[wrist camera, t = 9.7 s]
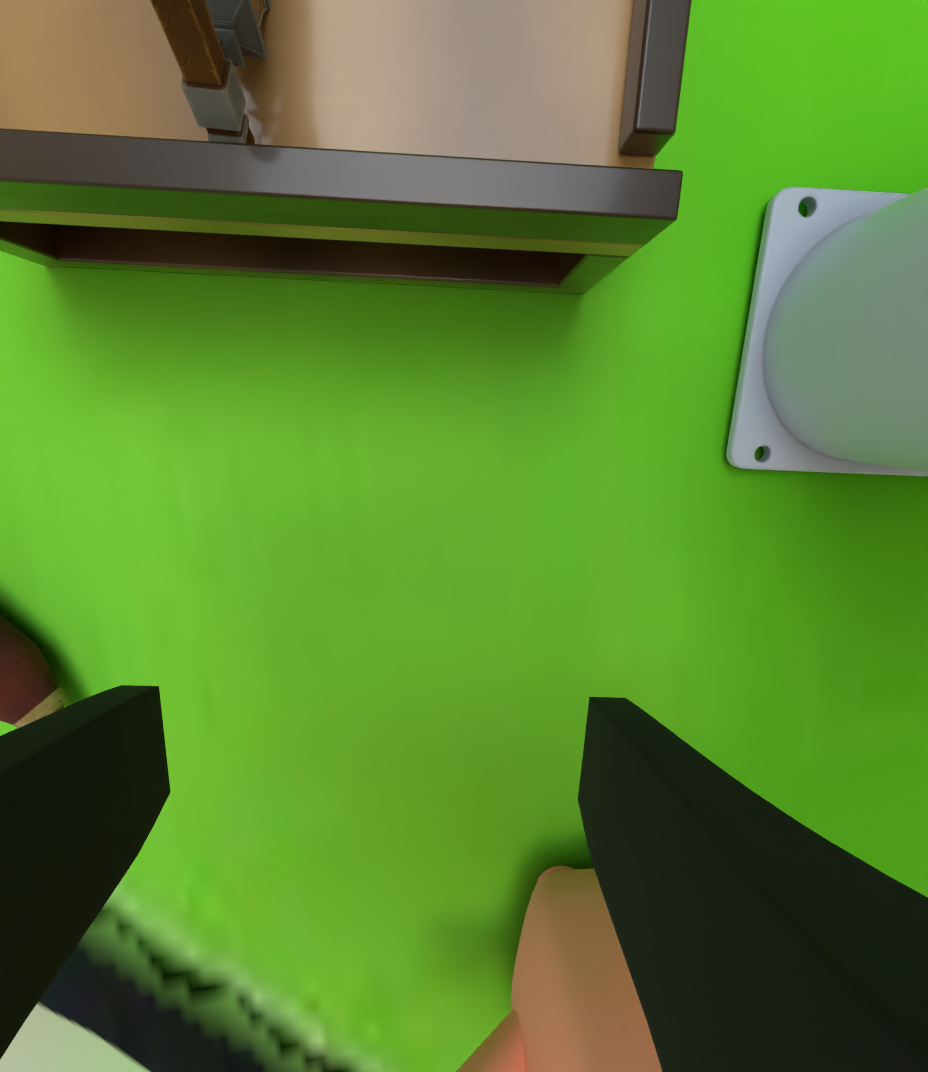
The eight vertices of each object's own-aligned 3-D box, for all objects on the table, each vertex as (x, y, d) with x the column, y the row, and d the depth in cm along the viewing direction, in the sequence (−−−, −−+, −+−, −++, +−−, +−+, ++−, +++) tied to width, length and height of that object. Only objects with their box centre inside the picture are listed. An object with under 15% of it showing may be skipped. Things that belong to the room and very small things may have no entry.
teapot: (408, 927, 22) (375, 1323, 12) (640, 762, 20) (804, 1077, 11) (579, 1074, 24) (659, 1502, 15) (799, 937, 22) (1050, 1323, 13)
